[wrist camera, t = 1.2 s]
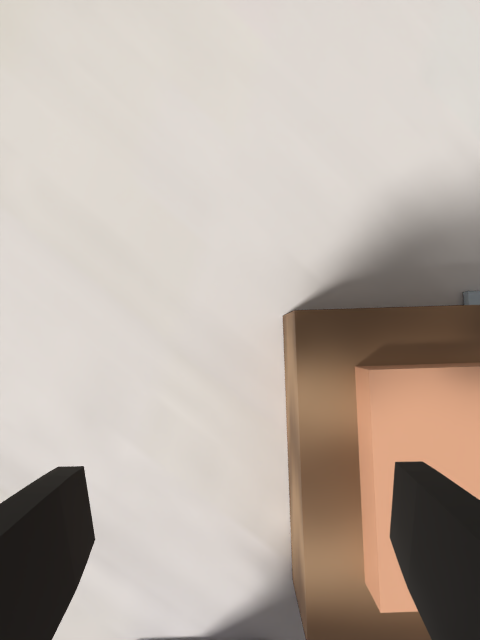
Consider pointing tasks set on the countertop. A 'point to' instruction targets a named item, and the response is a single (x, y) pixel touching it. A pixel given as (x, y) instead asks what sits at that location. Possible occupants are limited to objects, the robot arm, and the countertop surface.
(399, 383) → the tile
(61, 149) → the countertop surface
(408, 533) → the robot arm
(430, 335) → the board
